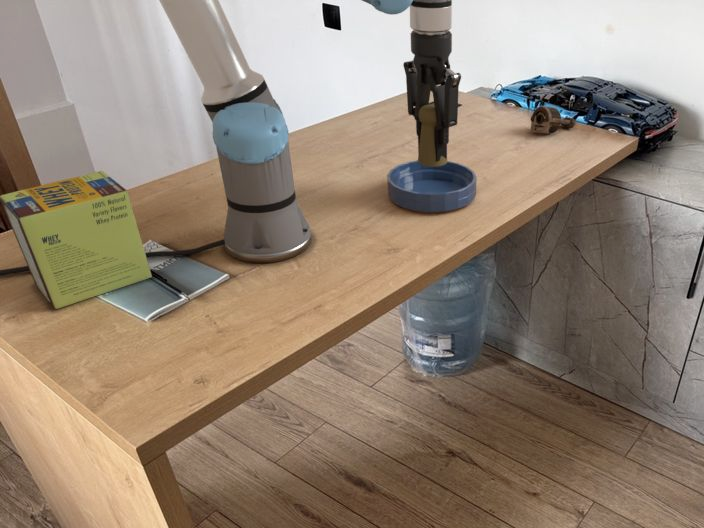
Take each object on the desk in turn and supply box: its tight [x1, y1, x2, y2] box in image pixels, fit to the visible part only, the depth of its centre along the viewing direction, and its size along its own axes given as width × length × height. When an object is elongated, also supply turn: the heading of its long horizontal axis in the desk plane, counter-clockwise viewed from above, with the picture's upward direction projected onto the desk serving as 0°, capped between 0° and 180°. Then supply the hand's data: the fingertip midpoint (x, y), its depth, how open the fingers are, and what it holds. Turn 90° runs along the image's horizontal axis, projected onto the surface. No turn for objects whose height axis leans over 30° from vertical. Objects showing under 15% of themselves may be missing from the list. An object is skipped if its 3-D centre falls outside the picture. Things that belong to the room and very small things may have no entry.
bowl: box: [386, 159, 478, 214], centre depth 140 cm, size 18×18×4 cm
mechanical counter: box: [529, 105, 577, 135], centre depth 173 cm, size 7×13×10 cm
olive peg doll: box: [417, 103, 448, 167], centre depth 133 cm, size 6×6×11 cm
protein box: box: [0, 170, 153, 310], centre depth 106 cm, size 10×15×16 cm
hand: (432, 155), depth 136 cm, fingers closed on olive peg doll, 4 cm apart
